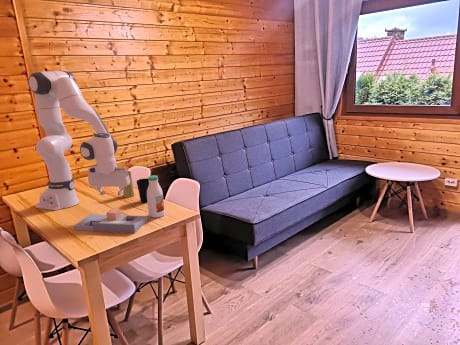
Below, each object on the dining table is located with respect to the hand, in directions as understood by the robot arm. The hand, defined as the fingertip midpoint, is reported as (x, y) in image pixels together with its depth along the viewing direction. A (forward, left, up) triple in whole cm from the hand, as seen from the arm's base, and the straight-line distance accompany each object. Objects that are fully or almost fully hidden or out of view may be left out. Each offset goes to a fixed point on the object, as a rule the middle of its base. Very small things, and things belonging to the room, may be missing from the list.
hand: (111, 194), depth 174 cm
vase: (-7, +31, -12) cm, 33 cm away
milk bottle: (+21, +4, -12) cm, 24 cm away
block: (+3, -6, -9) cm, 12 cm away
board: (+4, -10, -11) cm, 15 cm away
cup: (+7, +23, -12) cm, 26 cm away
